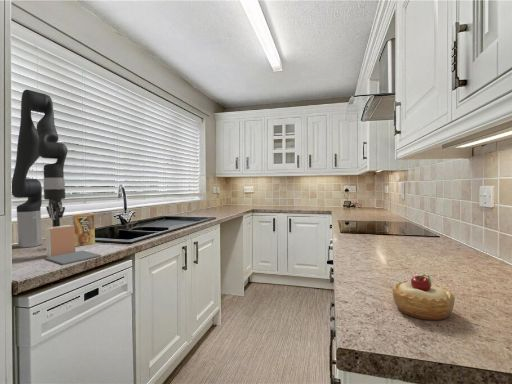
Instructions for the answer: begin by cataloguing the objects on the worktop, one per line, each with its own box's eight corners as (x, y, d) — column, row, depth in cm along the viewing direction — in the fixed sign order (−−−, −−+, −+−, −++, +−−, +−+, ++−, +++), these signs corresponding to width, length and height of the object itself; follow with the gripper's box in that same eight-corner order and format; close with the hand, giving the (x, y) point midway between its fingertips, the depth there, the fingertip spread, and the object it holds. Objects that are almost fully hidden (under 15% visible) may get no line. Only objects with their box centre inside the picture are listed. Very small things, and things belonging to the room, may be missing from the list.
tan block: (46, 256, 118) (45, 227, 118) (70, 251, 126) (69, 224, 125) (51, 257, 116) (50, 228, 115) (75, 252, 123) (74, 225, 123)
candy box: (93, 242, 144) (92, 212, 144) (95, 243, 141) (94, 213, 140) (73, 245, 139) (72, 214, 138) (74, 246, 135) (73, 215, 135)
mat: (45, 259, 113) (45, 257, 113) (82, 251, 125) (82, 250, 125) (63, 265, 104) (63, 263, 104) (101, 256, 116) (101, 254, 116)
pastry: (425, 300, 70) (425, 264, 70) (468, 322, 59) (468, 279, 59) (381, 302, 68) (382, 266, 68) (416, 325, 57) (417, 282, 57)
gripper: (38, 188, 123) (39, 228, 123) (51, 188, 115) (53, 230, 116) (57, 188, 129) (59, 225, 129) (71, 187, 122) (72, 227, 122)
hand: (56, 227), depth 123 cm, fingers closed
